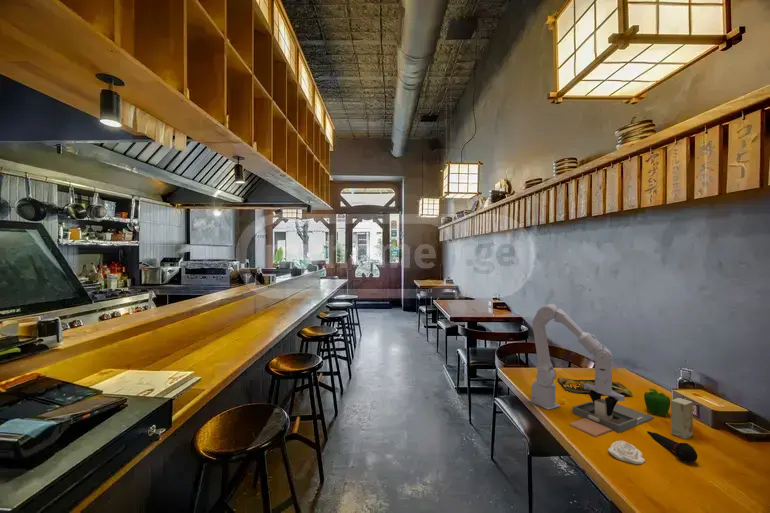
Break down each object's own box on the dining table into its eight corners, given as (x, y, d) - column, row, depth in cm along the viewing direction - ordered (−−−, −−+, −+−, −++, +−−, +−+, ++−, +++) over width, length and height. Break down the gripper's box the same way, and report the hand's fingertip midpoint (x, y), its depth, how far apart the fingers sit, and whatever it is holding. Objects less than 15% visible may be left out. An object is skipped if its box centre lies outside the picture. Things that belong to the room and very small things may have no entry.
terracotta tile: (569, 425, 128) (569, 423, 128) (585, 419, 132) (585, 417, 132) (595, 437, 119) (595, 435, 119) (611, 430, 123) (611, 429, 123)
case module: (594, 418, 134) (594, 400, 134) (602, 415, 136) (602, 398, 136) (605, 422, 130) (604, 404, 130) (612, 419, 132) (612, 401, 132)
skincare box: (685, 439, 117) (685, 404, 118) (670, 434, 121) (670, 400, 121) (693, 435, 120) (693, 401, 120) (678, 429, 124) (678, 397, 124)
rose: (623, 433, 114) (653, 448, 104) (623, 446, 114) (653, 462, 104) (600, 437, 111) (629, 453, 102) (600, 451, 111) (629, 468, 102)
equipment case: (571, 413, 138) (571, 407, 138) (607, 401, 149) (607, 396, 149) (617, 433, 122) (617, 426, 122) (654, 418, 133) (654, 412, 133)
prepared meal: (567, 386, 159) (556, 372, 177) (567, 393, 159) (556, 379, 177) (633, 392, 153) (615, 378, 171) (633, 400, 153) (615, 385, 171)
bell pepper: (671, 413, 138) (670, 388, 138) (670, 420, 132) (669, 394, 132) (645, 407, 144) (645, 383, 144) (643, 413, 138) (643, 389, 138)
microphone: (644, 442, 122) (687, 468, 102) (637, 425, 123) (679, 449, 103) (658, 437, 122) (705, 463, 102) (652, 421, 123) (697, 444, 103)
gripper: (628, 382, 128) (629, 418, 128) (591, 371, 141) (591, 403, 141) (618, 386, 125) (618, 422, 125) (580, 374, 138) (581, 407, 138)
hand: (603, 412), depth 133 cm, fingers closed on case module, 4 cm apart
